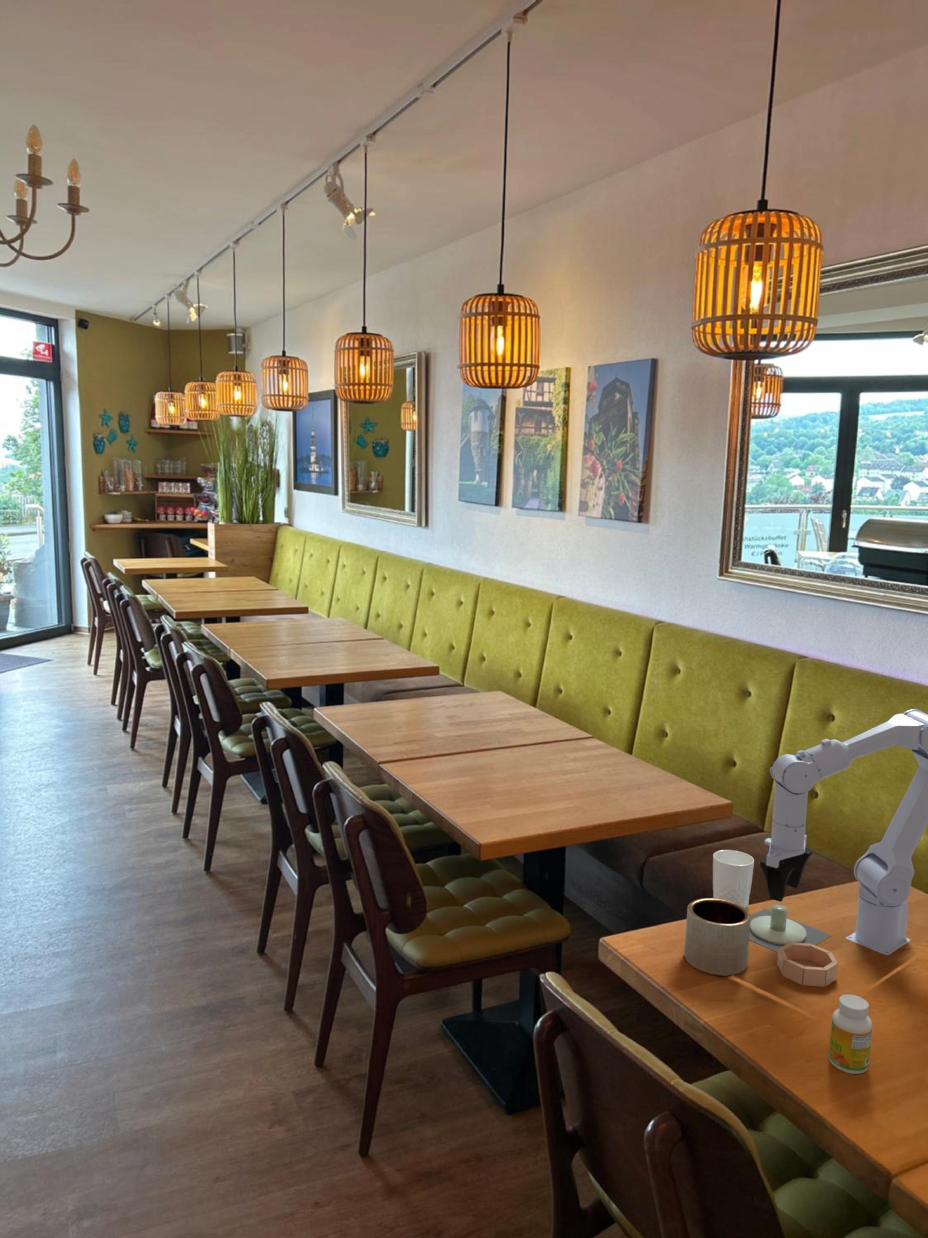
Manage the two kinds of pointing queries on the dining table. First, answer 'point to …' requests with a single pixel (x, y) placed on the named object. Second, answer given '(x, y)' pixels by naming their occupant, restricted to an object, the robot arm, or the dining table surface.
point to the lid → (778, 927)
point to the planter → (717, 936)
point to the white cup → (732, 876)
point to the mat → (811, 938)
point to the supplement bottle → (851, 1035)
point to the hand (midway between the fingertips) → (783, 892)
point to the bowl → (807, 964)
